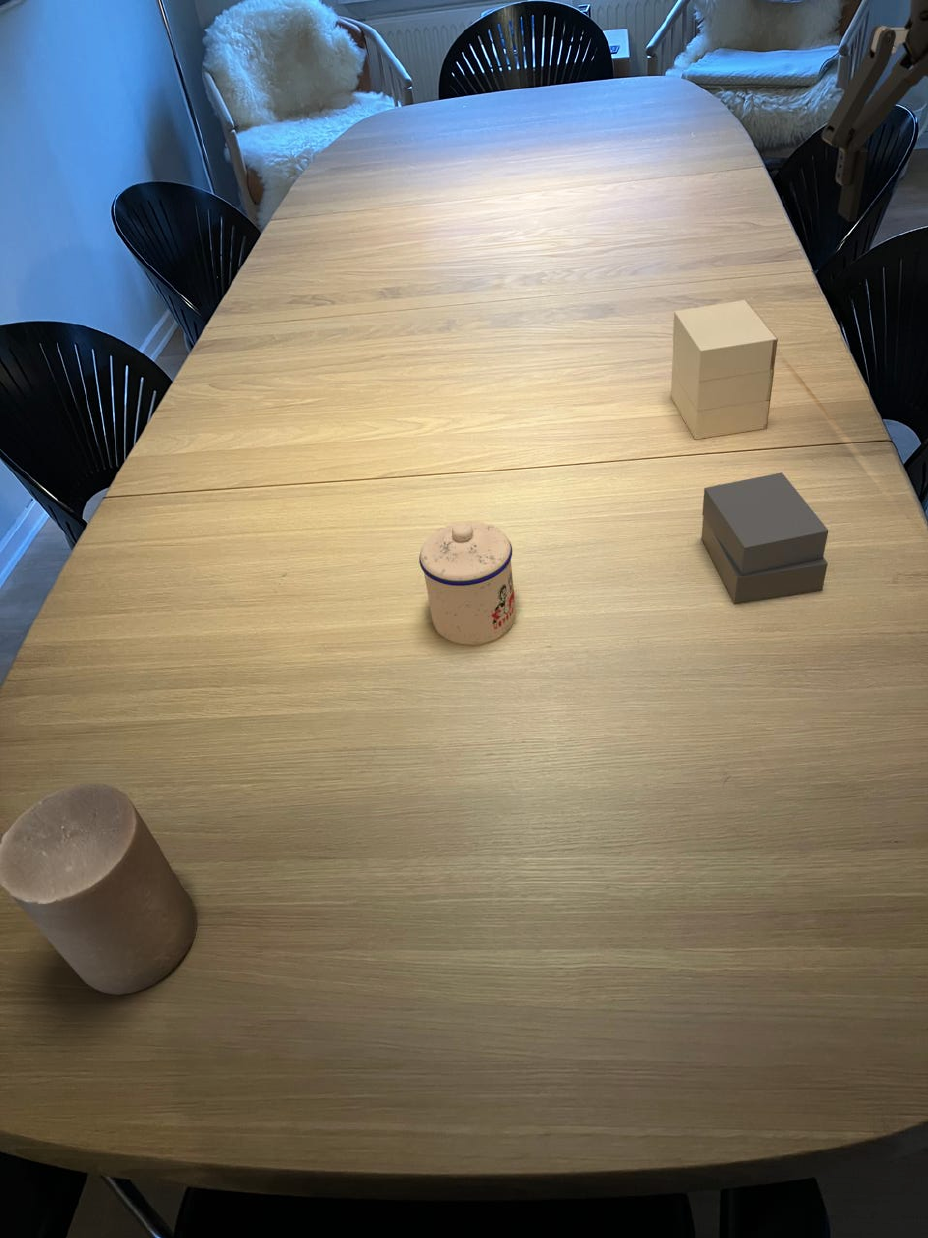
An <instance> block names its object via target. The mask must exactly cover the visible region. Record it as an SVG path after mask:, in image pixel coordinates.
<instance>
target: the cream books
mask: <svg viewBox="0 0 928 1238" xmlns="http://www.w3.org/2000/svg"><path fill="white" fill-rule="evenodd" d="M671 360H672V361H671V379H670V380H671V382H670V387H671V388H670V399H671V400H672V402H673V403H674V405H675V407H676V409H677V410H678V412H679V414H680V416H681V417H682V419H683V421H684V423H685V424H686V426H687V428H688V431H690V433H691V435H692V437H693V439H694V440H702V439H703V440H704V439H709V438H715V437H721V436H727V435H734V434H740V433H747V432H752V431H759V430H766V429H768V424H769V415H770V407H771V400H772V399H771V398H772V393H773V392H772V391H773V385H774V384H773V383H774V375H775V369H774V370H770V371H764V372H758V373H751V374H745V375H739V376H732V377H726V378H720V379H713V380H707V381H701V382H698V380H697V379H696V377H695V375H694V374H693V372H692V371H691V369H690V367H689V366H688V364H687V363H686V361H685V359H684V358H683V356H682V355H681V353H680V351H679V350H678V348H677V347H676V345H675V343H674V342H673V341H672V359H671Z"/></svg>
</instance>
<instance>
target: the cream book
mask: <svg viewBox="0 0 928 1238" xmlns="http://www.w3.org/2000/svg"><path fill="white" fill-rule="evenodd" d="M672 325H673V328H672V330H673V331H672V343H673V342H674V343H675V345H676V347H677V348H678V350H679V351H680V353H681V355H682V356H683V358H684V359H685V361H686V363H687V364H688V366H689V367H690V369H691V371H692V372H693V374H694V375H695V377H696V379H697V380H698V382H701V381H707V380H713V379H720V378H726V377H732V376H739V375H745V374H751V373H758V372H764V371H770V370H774V371H775V365H776V356H777V349H778V341H779V339H778V337H777V336H776V335H775V333H774V332H773V331H772V330H771V328H770V327H769V326H768V325H767V324H766V323H765V321H764V319H762V318H761V316H760V315H759V314H758V313H757V311H756V310H755V309H754V308H753V307H752V305H751V304H750V303H749V301H747V299H741V300H736V301H730V302H724V303H723V302H722V303H716V304H711V305H705V306H704V305H703V306H699V307H692V308H684V309H679V310H674V311H673V324H672Z"/></svg>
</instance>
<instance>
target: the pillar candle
mask: <svg viewBox="0 0 928 1238" xmlns="http://www.w3.org/2000/svg"><path fill="white" fill-rule="evenodd" d="M0 886H1V887H2V888H3V889H4V890H5V891H6V892H7V893H8V894H9V896H10V897H11V898H12V899H13V900H14V901H15V902H16V904H17V905H18V906H19V907H20V908H21V909H22V910H23V912H24V914H26V915H27V916H28V917H29V919H30V920H31V921H32V922H33V923H34V925H35V926H36V927H37V928H38V929H39V930H40V932H41V933H42V934H43V936H44V937H45V938H46V939H47V941H49V942H50V944H51V945H52V946H53V947H54V948H55V950H56V951H57V952H58V953H59V954H60V955H61V957H62V958H63V960H64V961H65V962H67V963H68V966H70V968H71V969H73V971H74V972H75V973H76V974H77V975H78V976H79V977H80V978H81V979H82V980H83V982H84V983H85V984H86V985H88V986H89V987H91V988H93V989H94V990H96V991H98V992H100V993H103V994H109V995H114V996H119V995H121V996H122V995H127V994H133V993H137V992H140V991H143V990H145V989H147V988H149V987H151V986H154V985H155V984H156V983H158V982H159V981H161V980H162V979H164V978H165V977H166V976H168V975H169V974H170V973H171V972H172V971H173V970H174V969H175V968H177V966H178V964H179V963H180V962H181V960H182V959H183V958H184V957H185V955H186V954H187V952H188V951H189V950H190V947H191V946H192V943H193V941H194V939H195V936H196V931H197V927H198V917H197V909H196V908H197V907H196V906H195V903H194V901H193V899H192V897H191V896H190V894H189V893H188V892H187V890H186V889H185V888H184V887H183V885H182V883H181V881H180V879H179V877H178V876H177V874H176V873H175V872H174V870H173V868H172V866H171V865H170V862H169V861H168V859H167V858H166V856H165V854H164V852H163V850H162V849H161V847H160V845H159V843H158V842H157V840H156V839H155V837H154V835H153V834H152V832H151V831H150V829H149V827H148V825H147V824H146V822H145V821H144V819H143V816H141V814H140V812H139V811H138V810H137V807H136V806H135V804H134V803H133V801H132V800H131V798H129V796H128V795H127V794H126V793H124V792H123V791H121V790H120V789H119V788H117V787H115V786H112V785H108V784H105V783H101V782H83V783H77V784H72V785H69V786H66V787H63V788H60V789H58V790H56V791H54V792H51V793H49V794H47V795H46V796H44V797H42V798H41V799H40V800H38V801H37V802H35V803H33V804H32V805H31V806H29V808H28V809H26V810H25V811H24V812H23V813H22V814H20V816H19V817H18V818H16V820H15V822H14V823H12V825H11V827H10V828H9V829H8V830H7V831H5V833H3V836H2V837H1V843H0Z"/></svg>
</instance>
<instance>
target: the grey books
mask: <svg viewBox="0 0 928 1238" xmlns="http://www.w3.org/2000/svg"><path fill="white" fill-rule="evenodd" d="M701 513H702V514H701V515H702V527H701V538H700V539H701V540H702V542H703V544H704V546H705V548H706V550H707V552H708V555H709V556H710V558H711V560H712V562H713V564H714V567H715V568H716V570H717V572H718V575H719V576H720V578H721V580H722V582H723V585H724V587H725V589H726V591H727V592H728V595H729V596H730V598H731V600H732V603H733V604H734V605H738V604H742V603H743V604H744V603H750V602H755V601H762V600H768V599H774V598H780V597H787V596H793V595H799V594H806V593H812V592H819V591H823V589H824V585H825V579H826V575H827V569H828V565H829V563H828V562H827V560H826V558H825V556H824V555H825V551H826V546H827V540H828V537H829V536H828V534H829V529H828V528H827V527H826V525H825V524H824V523H823V521H822V520H821V519H820V518H819V517H818V515H817V514H816V513H815V511H814V510H813V509H812V508H811V507H810V506H809V504H808V503H807V502H806V500H805V499H804V498H803V497H802V495H800V492H798V491H797V489H796V488H795V486H794V485H793V484H792V483H791V482H790V480H789V479H788V478H787V477H786V475H785V474H784V473H783V472H776V473H772V474H767V475H761V476H757V477H752V478H747V479H741V480H737V481H733V482H726V483H722V484H717V485H712V486H707V487H704V488H703V502H702V512H701Z"/></svg>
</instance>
